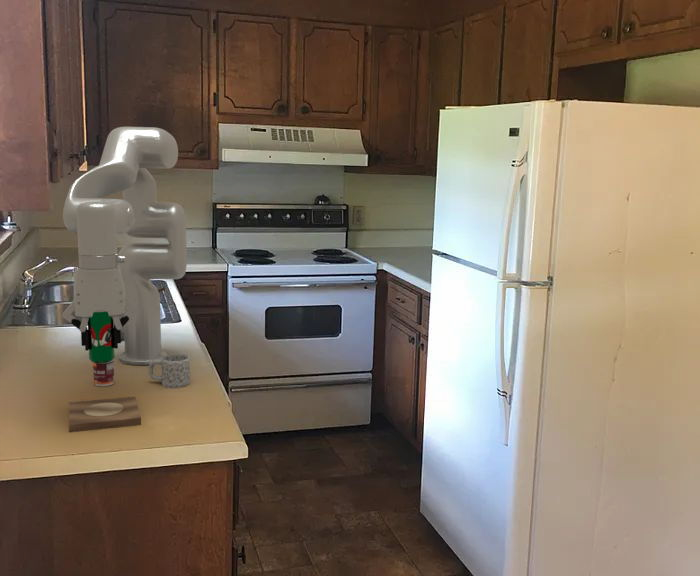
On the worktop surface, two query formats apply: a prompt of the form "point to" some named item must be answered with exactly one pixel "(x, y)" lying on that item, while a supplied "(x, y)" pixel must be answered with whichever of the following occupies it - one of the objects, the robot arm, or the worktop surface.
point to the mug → (172, 370)
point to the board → (103, 414)
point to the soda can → (101, 337)
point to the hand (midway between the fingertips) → (101, 347)
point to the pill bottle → (103, 373)
